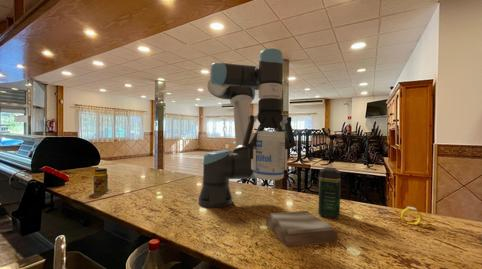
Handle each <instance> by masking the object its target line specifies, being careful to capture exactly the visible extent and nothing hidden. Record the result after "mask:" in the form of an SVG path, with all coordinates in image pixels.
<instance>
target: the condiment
mask: <svg viewBox="0 0 482 269" xmlns="http://www.w3.org/2000/svg"><path fill="white" fill-rule="evenodd" d="M108 174H109V173H108V168H106V167H104V168H103V167H101V168H95V169H94V174H93V190H91V193H92V195H93V196H94V195H99V194H100V195H101V194H108V193H109V194H110V189H109V188H108V187H109V185H108V184H109V183H108V182H109V180H108V178H109V175H108Z"/></svg>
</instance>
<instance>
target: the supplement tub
mask: <svg viewBox="0 0 482 269" xmlns="http://www.w3.org/2000/svg"><path fill="white" fill-rule="evenodd" d="M255 133H258V135H257V142H256V144H255V146H254V147H255V149H256V170H254V176H255V177H256V178H255V179H258V180H265V181H278V180H281V179H284V177H285V170H284V156H285V136H286V131H283V132H276V131H275V130H274V131H271V130H269V131H267V130H266V131H265V130H263V131H257V130H256V131H255Z"/></svg>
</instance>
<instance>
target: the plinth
mask: <svg viewBox="0 0 482 269" xmlns="http://www.w3.org/2000/svg"><path fill="white" fill-rule="evenodd" d="M265 225H267V226H268V228H269V229H270V230H271V231H272V232H273V233H274V235H276V236H277V238H278V239H279V240H280V241H281V242H282V243H283V244H284V245H285V247H287V248H291V247H292V248H293V247H301V246H309V245H310V246H311V245H318V244H319V245H320V244H326V243H336V242H338V231H337V230H336V229H334V228H333V226H331V225H330V224H329V223H327V222H325V221H324V220H322V219H321V218H319V217H317V216H316V215H314V214H312V213H311V212H309V211H308V210H302V211H301V210H300V211H288V212H287V211H286V212H273V213H272V212H271V213H269V215H266V222H265Z"/></svg>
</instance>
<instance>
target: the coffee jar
mask: <svg viewBox="0 0 482 269" xmlns="http://www.w3.org/2000/svg"><path fill="white" fill-rule="evenodd" d="M318 177H319V178H318V212H317V213H318V215H319V216H321V217H325V218H326V219H332V218H333V219H339V217H340V214H341V213H340V211H341V210H340V209H341V208H340V207H341V206H340V204H341V182H342V181H341V171H340V170H339V169H337V168H336V167H331V166H330V167H329V166H326V167H324V168H321V169H320V170H319V176H318Z"/></svg>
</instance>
